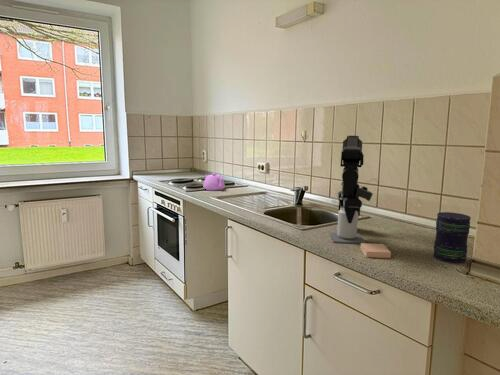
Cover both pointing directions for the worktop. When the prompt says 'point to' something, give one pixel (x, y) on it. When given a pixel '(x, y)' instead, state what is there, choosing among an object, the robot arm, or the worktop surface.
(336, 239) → the mat
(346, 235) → the can
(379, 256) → the tile
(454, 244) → the storage jar
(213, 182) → the teapot
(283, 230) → the worktop surface
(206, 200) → the worktop surface
